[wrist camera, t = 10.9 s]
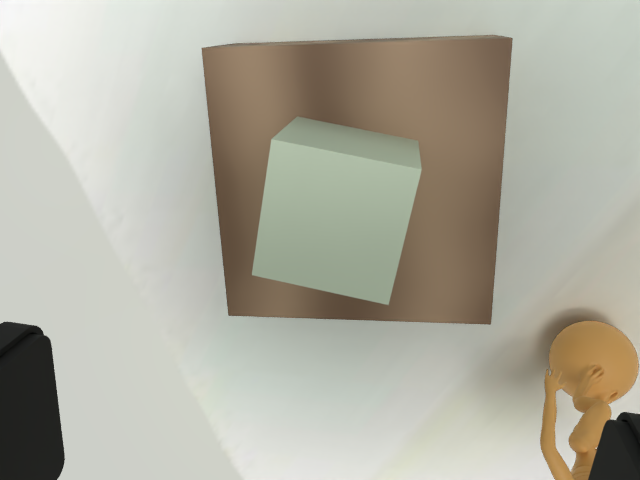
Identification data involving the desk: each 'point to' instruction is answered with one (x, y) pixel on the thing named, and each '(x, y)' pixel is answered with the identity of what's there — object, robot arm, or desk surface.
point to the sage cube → (336, 208)
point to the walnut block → (382, 117)
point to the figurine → (585, 389)
